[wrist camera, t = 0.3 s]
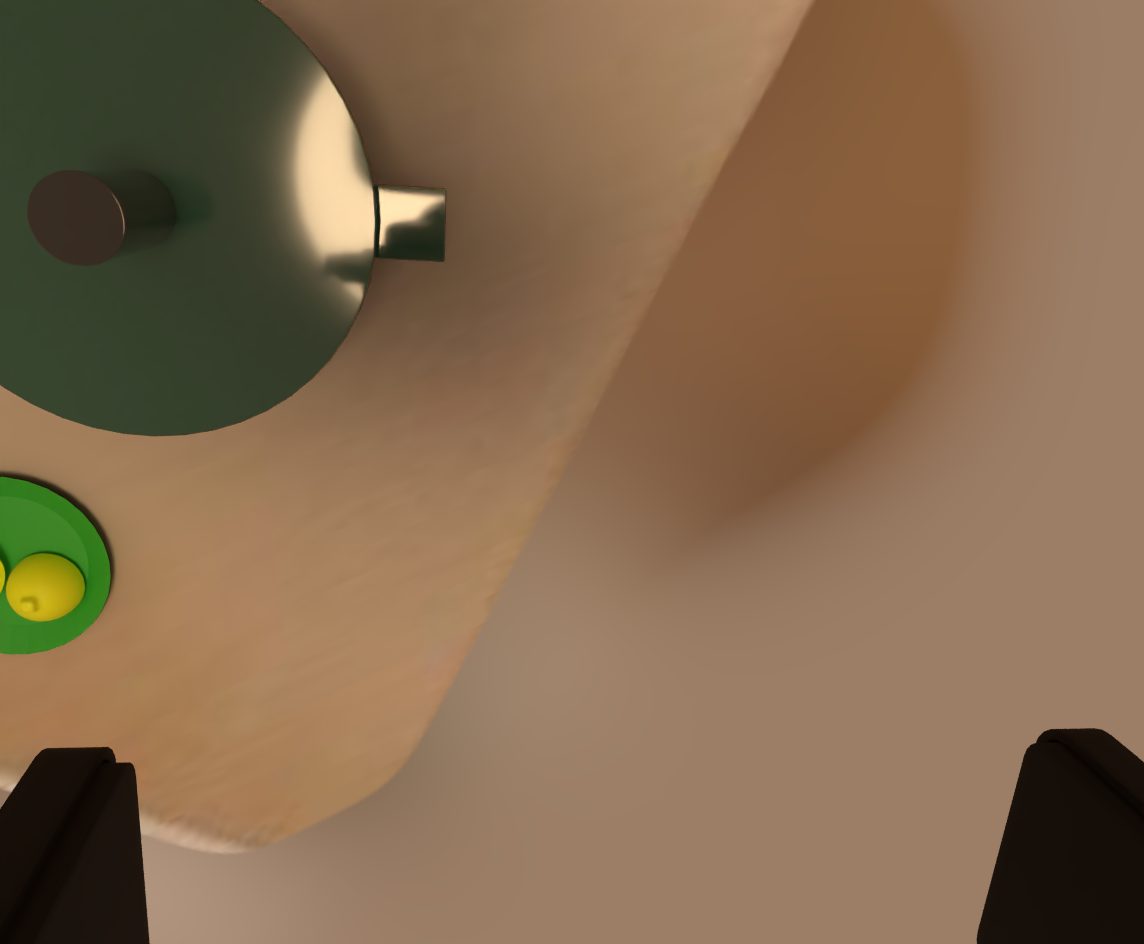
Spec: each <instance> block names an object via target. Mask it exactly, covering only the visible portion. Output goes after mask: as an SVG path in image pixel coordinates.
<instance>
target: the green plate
mask: <svg viewBox="0 0 1144 944" xmlns="http://www.w3.org/2000/svg"><path fill="white" fill-rule="evenodd" d="M110 579H111V576H110V565H109V559H108V556H107V552H106V549H105V546H104V543H103V542H102V540H101V538H100V536H99V535H98V533H97V531H96V529H95V527H94V526H93V525H92V524H91V523H90V522H89V520H88V519H87V518H86V517H85V516H84V515H83V513H82V512H81V511H79V510H78V509H77V508H76V507H75V506H73V505H72V504H71V503H70V502H68V501H67V500H66V499H64V498H63V497H61V496H59V495H57V494H56V493H54V492H52V491H50V490H49V489H47V488H44V487H41V486H38V485H36V484H33V483H30V482H28V481H23V480H18V479H12V478H7V477H0V653H4V654H31V653H36V652H42V651H47V650H50V649H53V648H56V647H59V646H61V645H64V644H66V643H68V642H69V641H71V640H73V639H74V638H76V637H78V636H79V635H81V634H82V633H83V632H84V631H85V630H86V629H87V628H88V627H89V626H90V625H92V624H93V622H94V621H95V619H96V618H97V616H98V615H99V614H100V612H101V611H102V609H103V606H104V604H105V601H106V599H107V596H108V593H109V586H110Z"/></svg>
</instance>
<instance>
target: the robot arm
mask: <svg viewBox="0 0 1144 944" xmlns="http://www.w3.org/2000/svg"><path fill="white" fill-rule="evenodd" d="M0 944H149V933H148V920H147V908H146V894H145V882H144V871H143V858H142V845H141V833H140V820H139V808H138V795H137V783H136V774H135V769H134V766H133V764H131V763H130V762H129V763H116V759H115V755H114V753H113V751H112V749H110V748H109V747H86V748H47V749H44V750H41V752H40V753H39V754H38V755H37V756H36V757H35V759H34V760H33V761H32V763H31V764H30V766H29V767H28V769H27V770H26V772H25V773H24V775H23V776H22V778H21V779H20V781H19V782H18V784H17V785H16V787H15V788H14V789H13V791H12V792H11V794H10V795H9V797H8V798H7V800H6V801H5V803H4V804H3V806H2V807H1V809H0ZM977 944H1144V762H1143V761H1142V760H1140V759H1139V758H1138V757H1137V756H1136V755H1134V754H1133V753H1132V752H1131V751H1130V750H1128V749H1127V748H1126V747H1125V746H1123V745H1122V744H1121V743H1120V742H1119V741H1118V740H1116V739H1115V738H1114V737H1113V736H1112V735H1110V734H1108V733H1107V732H1105V731H1103V730H1101V729H1095V728H1092V729H1091V728H1087V729H1050V730H1047V731H1044V732H1043V733H1042V734H1041V735H1040V736H1039V737H1038V739H1037V742H1036V743H1035V744H1032V745H1030V747H1028V748H1027V750H1026V753H1025V755H1024V758H1023V762H1022V766H1021V770H1020V773H1019V777H1018V781H1017V785H1016V789H1015V792H1014V796H1013V800H1012V804H1011V807H1010V812H1009V815H1008V819H1007V823H1006V826H1005V830H1004V834H1003V838H1002V842H1001V845H1000V849H999V853H998V857H997V861H996V864H995V868H994V872H993V876H992V880H991V884H990V887H989V891H988V895H987V898H986V902H985V906H984V910H983V914H982V918H981V921H980V925H979V929H978V934H977Z"/></svg>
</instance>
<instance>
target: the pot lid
mask: <svg viewBox="0 0 1144 944" xmlns="http://www.w3.org/2000/svg"><path fill="white" fill-rule="evenodd" d="M377 226H378V221H377V205H376V192H375V187H374V181H373V176H372V171H371V166H370V161H369V158H368V155H367V152H366V149H365V146H364V143H363V140H362V136H361V133H360V131H359V128H358V126H357V124H356V122H355V120H354V118H353V115H352V113H351V111H350V109H349V107H348V105H347V102H346V100H345V99H344V97H343V96H342V94H341V92H340V91H339V89H338V87H337V86H336V84H335V83H334V81H333V79H332V78H331V76H330V75H329V73H328V71H327V70H326V69H325V68H324V66H323V65H322V64H321V63H320V61H319V60H318V59H317V57H316V56H315V55H314V54H313V52H312V51H311V50H310V49H309V47H308V46H307V45H306V44H305V43H304V42H303V41H302V40H301V39H300V38H299V37H298V36H297V35H296V34H295V33H294V32H293V31H292V30H291V29H290V28H289V27H288V26H287V25H286V24H285V23H284V22H283V21H282V20H281V19H280V18H279V17H278V16H276V15H275V14H274V13H273V12H271V11H270V10H269V9H268V8H266V7H265V6H264V5H262V4H261V3H260V2H259V1H257V0H0V385H1V386H2V387H4V388H5V389H7V390H9V391H10V392H12V393H14V394H16V395H17V396H19V397H21V398H22V399H24V400H26V401H28V402H29V403H31V404H33V405H35V406H37V407H39V408H42V409H44V410H46V411H48V412H51V413H53V414H55V415H57V416H60V417H62V418H64V419H68V420H71V421H74V422H77V423H80V424H83V425H86V426H90V427H93V428H97V429H102V430H107V431H112V432H117V433H122V434H132V435H145V436H175V435H188V434H195V433H201V432H207V431H213V430H217V429H220V428H224V427H227V426H230V425H234V424H237V423H241V422H243V421H245V420H247V419H250V418H252V417H254V416H257V415H259V414H261V413H263V412H266V411H268V410H269V409H271V408H272V407H274V406H276V405H277V404H279V403H281V402H282V401H284V400H286V399H287V398H289V397H290V396H292V395H293V394H294V393H295V392H297V391H298V390H299V389H300V388H302V387H303V386H304V385H305V384H306V383H308V382H309V381H310V380H311V379H312V378H313V377H314V376H315V375H316V374H317V373H318V372H319V371H320V370H321V369H322V368H323V367H324V366H325V364H326V363H327V362H328V361H329V360H330V359H331V358H332V356H333V355H334V354H335V352H336V351H337V349H338V348H339V346H340V345H341V344H342V342H343V341H344V339H345V338H346V336H347V335H348V333H349V331H350V329H351V327H352V325H353V323H354V321H355V319H356V317H357V315H358V313H359V311H360V309H361V306H362V304H363V301H364V298H365V295H366V292H367V289H368V286H369V283H370V279H371V274H372V269H373V264H374V259H375V254H376V242H377Z"/></svg>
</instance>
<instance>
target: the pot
mask: <svg viewBox="0 0 1144 944" xmlns="http://www.w3.org/2000/svg"><path fill="white" fill-rule="evenodd" d="M374 187H375V192H376V205H377V221H378V226H377V242H376V254H375V258H378V259H396V260H415V261H434V262H444V261H445V223H446V189H445V188H435V187H420V186H405V185H390V184H374Z"/></svg>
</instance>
